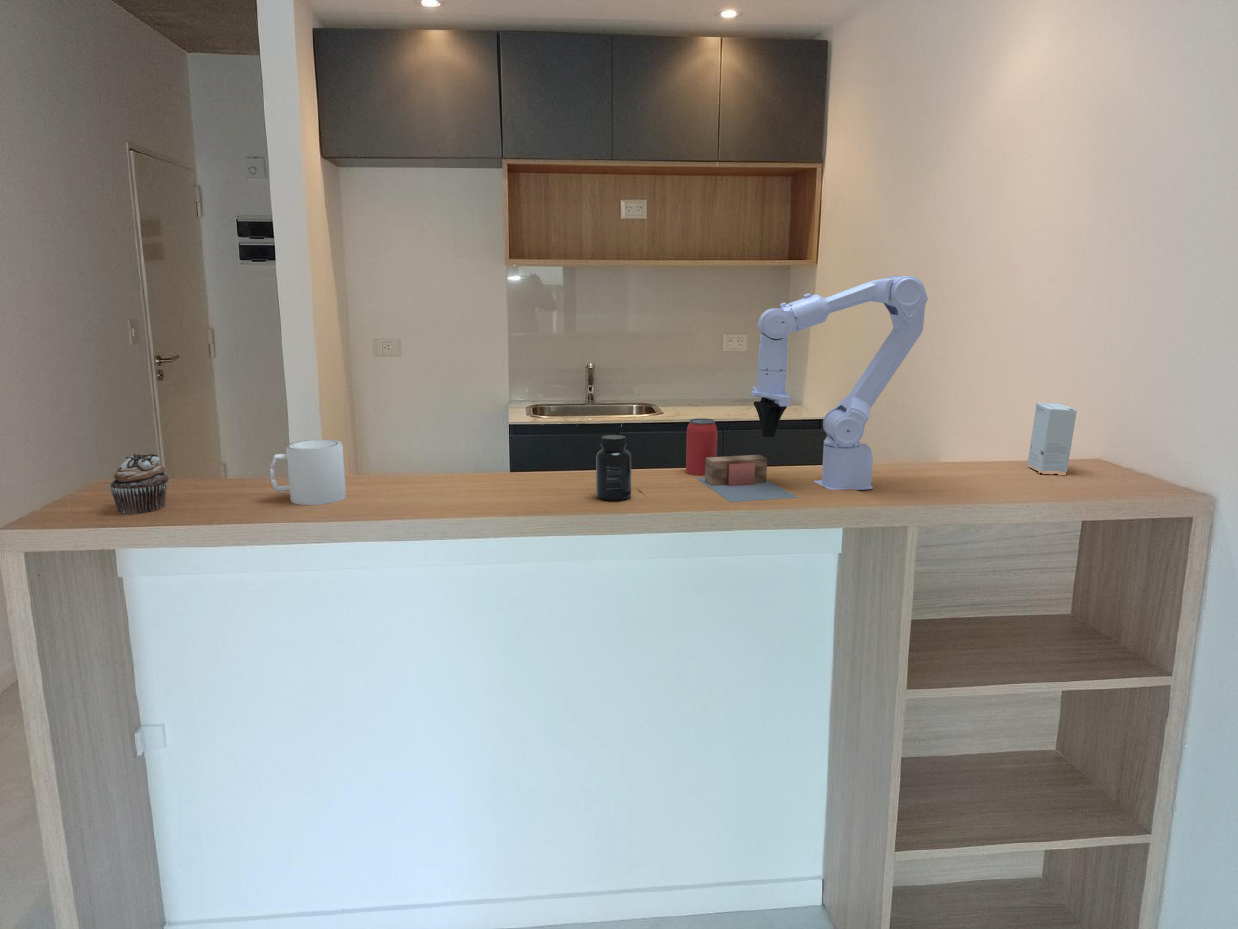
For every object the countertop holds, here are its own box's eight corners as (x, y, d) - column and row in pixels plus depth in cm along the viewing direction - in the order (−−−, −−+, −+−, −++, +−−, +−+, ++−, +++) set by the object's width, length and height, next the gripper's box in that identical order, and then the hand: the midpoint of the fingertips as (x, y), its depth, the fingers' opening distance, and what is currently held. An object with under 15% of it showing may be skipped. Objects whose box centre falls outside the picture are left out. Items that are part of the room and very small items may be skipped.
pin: (754, 484, 177) (755, 463, 176) (728, 486, 176) (729, 464, 175) (740, 476, 184) (741, 455, 183) (716, 478, 182) (716, 457, 181)
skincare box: (1026, 467, 196) (1033, 402, 193) (1054, 467, 196) (1061, 402, 193) (1040, 475, 188) (1048, 407, 185) (1069, 476, 188) (1077, 408, 185)
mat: (757, 477, 186) (757, 474, 186) (798, 500, 167) (798, 497, 167) (695, 480, 183) (695, 478, 182) (730, 505, 164) (730, 501, 164)
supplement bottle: (637, 495, 170) (638, 435, 168) (619, 503, 165) (620, 441, 162) (607, 491, 174) (607, 432, 171) (589, 498, 168) (589, 437, 166)
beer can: (714, 479, 184) (716, 423, 182) (683, 477, 186) (685, 422, 183) (717, 472, 191) (719, 418, 188) (687, 470, 192) (688, 417, 189)
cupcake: (121, 503, 164) (115, 451, 162) (177, 500, 166) (171, 449, 164) (104, 516, 155) (97, 462, 153) (163, 513, 157) (157, 459, 155)
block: (758, 477, 183) (759, 454, 182) (766, 482, 179) (767, 458, 178) (704, 481, 180) (705, 457, 179) (711, 485, 176) (712, 461, 175)
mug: (270, 508, 161) (265, 452, 158) (273, 495, 170) (269, 442, 168) (346, 502, 165) (342, 448, 162) (345, 490, 174) (342, 438, 172)
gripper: (739, 365, 179) (736, 430, 182) (768, 374, 165) (764, 443, 168) (771, 365, 181) (767, 429, 183) (802, 373, 167) (797, 442, 170)
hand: (768, 436), depth 176 cm, fingers closed
